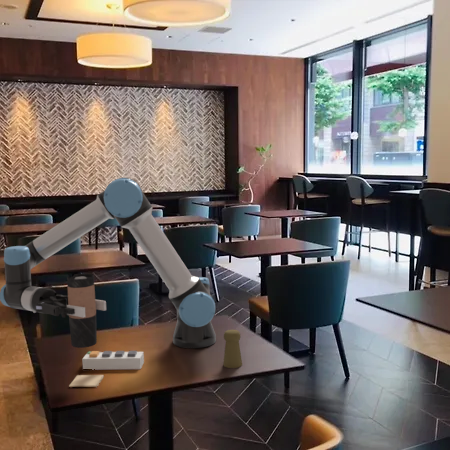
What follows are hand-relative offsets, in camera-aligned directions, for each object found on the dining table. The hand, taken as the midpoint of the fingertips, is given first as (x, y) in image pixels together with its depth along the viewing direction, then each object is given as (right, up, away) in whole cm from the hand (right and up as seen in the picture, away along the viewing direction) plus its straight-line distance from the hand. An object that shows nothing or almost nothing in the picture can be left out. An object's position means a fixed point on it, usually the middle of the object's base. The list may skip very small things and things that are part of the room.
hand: (94, 309), depth 161 cm
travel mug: (-4, -11, +4) cm, 12 cm away
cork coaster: (-4, -22, +5) cm, 23 cm away
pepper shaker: (+39, -20, +17) cm, 47 cm away
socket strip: (+2, -21, +18) cm, 27 cm away
